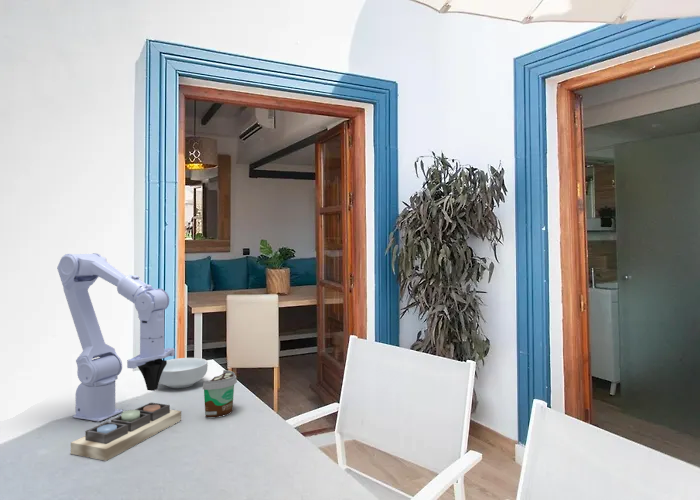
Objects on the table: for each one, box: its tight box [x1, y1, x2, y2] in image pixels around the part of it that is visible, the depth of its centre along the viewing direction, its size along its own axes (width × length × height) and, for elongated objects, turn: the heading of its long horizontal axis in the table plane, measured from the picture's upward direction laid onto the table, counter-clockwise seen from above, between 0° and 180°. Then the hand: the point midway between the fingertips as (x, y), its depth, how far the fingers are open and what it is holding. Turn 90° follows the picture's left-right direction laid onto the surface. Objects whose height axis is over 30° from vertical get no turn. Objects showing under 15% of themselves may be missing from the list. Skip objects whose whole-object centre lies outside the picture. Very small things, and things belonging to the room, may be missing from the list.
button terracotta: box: [143, 405, 160, 412], centre depth 119 cm, size 4×4×2 cm
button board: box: [70, 402, 182, 462], centre depth 112 cm, size 10×24×4 cm, turn 161°
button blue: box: [97, 424, 117, 433], centre depth 105 cm, size 4×4×2 cm
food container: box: [202, 369, 238, 418], centre depth 128 cm, size 12×6×10 cm, turn 168°
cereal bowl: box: [159, 357, 209, 389], centre depth 153 cm, size 17×17×7 cm
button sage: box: [121, 409, 140, 422], centre depth 112 cm, size 4×4×2 cm
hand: (152, 389), depth 120 cm, fingers closed
